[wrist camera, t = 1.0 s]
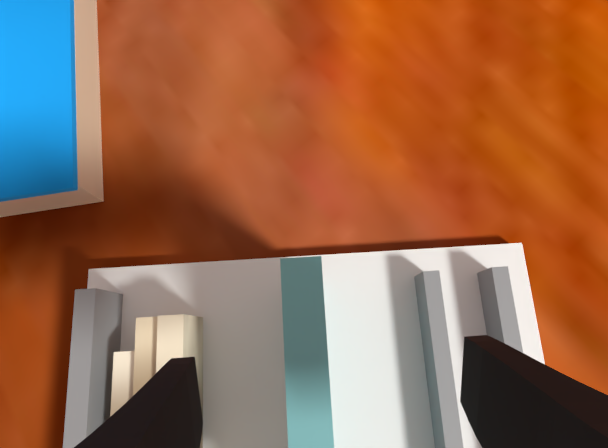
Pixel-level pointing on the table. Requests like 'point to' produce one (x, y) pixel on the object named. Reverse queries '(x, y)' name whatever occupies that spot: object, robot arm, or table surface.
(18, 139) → the book
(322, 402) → the teal rectangular block
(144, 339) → the offcut stack
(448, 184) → the table surface
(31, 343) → the table surface
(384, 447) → the rack
